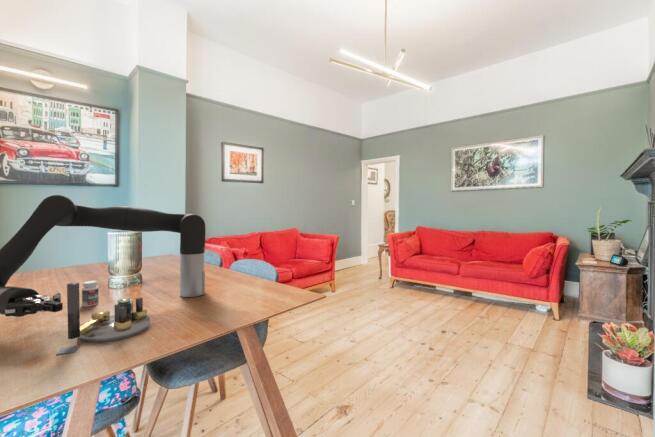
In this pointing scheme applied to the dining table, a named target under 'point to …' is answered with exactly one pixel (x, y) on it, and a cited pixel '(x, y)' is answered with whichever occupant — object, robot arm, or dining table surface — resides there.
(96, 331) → the tribrach plate
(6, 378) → the dining table surface
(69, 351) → the plate
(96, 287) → the pill bottle
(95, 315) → the lever
